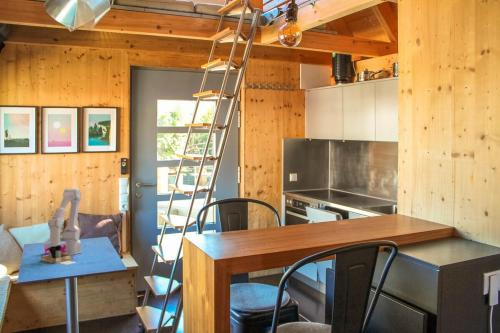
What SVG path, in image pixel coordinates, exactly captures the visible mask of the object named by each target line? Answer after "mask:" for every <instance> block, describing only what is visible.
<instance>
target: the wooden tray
mask: <svg viewBox="0 0 500 333" xmlns="http://www.w3.org/2000/svg"><path fill="white" fill-rule="evenodd" d="M40 258H41V260H40V261H42V262H46V263H50V264H54V265H55V264H60V263H61V262H65V261H72V260H74V254H73V255H69V256H66V257H61V258H57V259H53V258H50V254H47V255H43V256H41V257H40Z"/></svg>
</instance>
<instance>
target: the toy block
mask: <svg viewBox="0 0 500 333" xmlns="http://www.w3.org/2000/svg"><path fill="white" fill-rule="evenodd" d="M47 244H48V243H44V245H47ZM60 251H61V253H66V245H62V248H61V250H60ZM46 255H50V250H49V249H48V248H47V249H44V256H46Z"/></svg>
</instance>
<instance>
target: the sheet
mask: <svg viewBox="0 0 500 333" xmlns="http://www.w3.org/2000/svg"><path fill="white" fill-rule="evenodd" d="M49 255H50V258H52V255H51V252H50V254H49ZM57 258H61V251H57V250H56V253H55V258H53V259H57Z"/></svg>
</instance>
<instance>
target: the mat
mask: <svg viewBox="0 0 500 333" xmlns="http://www.w3.org/2000/svg"><path fill="white" fill-rule="evenodd" d="M76 263H77V262H76V261H72V260H67V261H63V262H59V264H61V265H65V266H68V265H72V264H76Z"/></svg>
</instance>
